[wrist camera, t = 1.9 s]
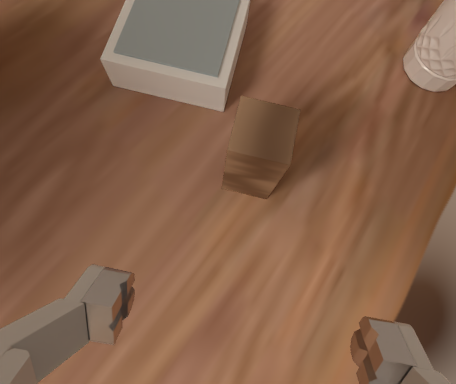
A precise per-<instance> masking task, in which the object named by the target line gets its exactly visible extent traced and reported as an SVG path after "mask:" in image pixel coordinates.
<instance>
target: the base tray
mask: <svg viewBox="0 0 456 384" xmlns="http://www.w3.org/2000/svg"><path fill="white" fill-rule="evenodd" d="M249 7H250V0H125V3H124V5H123V7H122V10H121V12H120V14H119V17H118V19H117V21H116V24H115V26H114V28H113V31H112V33H111V35H110V37H109V40H108V42H107V44H106V47H105V49H104V51H103V54H102V56H101V58H100V60H101V62H102V64H103V66H104V68H105V70H106V72H107V74H108V76H109V78H110V81H111V83H112V85H113V86H116V87H120V88H124V89H129V90H133V91H137V92H141V93H145V94H150V95H154V96H158V97H162V98H166V99H171V100H175V101H179V102H183V103H188V104H192V105H196V106H200V107H204V108H209V109H213V110H217V111H221V112H224V108H225V105H226V101H227V97H228V93H229V90H230V86H231V82H232V78H233V75H234V71H235V67H236V63H237V60H238V56H239V52H240V48H241V45H242V41H243V37H244V33H245V30H246V26H247V20H248V14H249Z"/></svg>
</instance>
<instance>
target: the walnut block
mask: <svg viewBox="0 0 456 384" xmlns="http://www.w3.org/2000/svg"><path fill="white" fill-rule="evenodd" d="M299 115H300V109H296V108H292V107H287V106H283V105H279V104H275V103H270V102H266V101H262V100H258V99H254V98H249V97H245V96H241V97H240V101H239V105H238V109H237V113H236V117H235V121H234V125H233V129H232V132H231V136H230V140H229V144H228V148H227V154H226V161H225V168H224V175H223V182H222V189H226V190H230V191H234V192H238V193H243V194H247V195H251V196H255V197H259V198H264V199H267V198H268V196H269V195H270V193H271V192H272V191H273V189H274V188H275V186H276V185H277V184H278V182H279V181H280V179H281V178H282V176H283V175H284V174H285V172H286V171H287V169H288V168H289V166H290V165H291V159H292V154H293V148H294V143H295V137H296V132H297V126H298V121H299Z"/></svg>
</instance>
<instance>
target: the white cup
mask: <svg viewBox="0 0 456 384" xmlns="http://www.w3.org/2000/svg"><path fill="white" fill-rule="evenodd" d="M403 64H404V70H405V72H406V73H407V75H408V77H409V78H410V80H411V81H413V82H414V83H415V84H416V85H418V86H419V87H420V88H423V89H426V90H429V91H432V92H439V91H447V90H449V89H450V88H452V87H453V86H455V85H456V0H444V1H443V2H442V3H441V5H440V6H439V7H438V9H437V10H436V11H435V13H434V14H433V15H432V17H431V18H430V19H429V21H428V22H427V23H426V25H425V26H424V27H423V29H422V30H421V31H420V33H419V35H418V37H417V38H416V39H415V40H414V42H413V43H412V44H411V45H410V47H409V48H408V50H407V52H406V53H405V55H404V57H403Z"/></svg>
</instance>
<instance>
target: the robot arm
mask: <svg viewBox="0 0 456 384" xmlns="http://www.w3.org/2000/svg"><path fill="white" fill-rule="evenodd" d="M134 281H135V278H134V273H132V272H127V271H123V270H118V269H114V268H109V267H103V266H98V265H94V264H92V265H90V266H89V267H88V268H87V269H86V270H85V272H84V273H83V274H82V276H81V277H80V278H79V280H78V281H77V282H76V284H75V285H74V286H73V287H72V289H71V290H70V291H69V293H68V294H67V295H66V297H65V298H64V299H61V298H59V299H57V300H55V301H53V302H51V303H49V304H47V305H45V306H44V307H42V308H40V309H38V310H36V311H34V312H32V313H30V314H28V315H26V316H24V317H22V318H20V319H18V320H16V321H14V322H13V323H11V324H9V325H7V326H5V327H3V328H1V329H0V384H37V383H38V382H39V381H40V380H42V379H43V378H44V377H45V376H47V375H48V374H49V373H50V372H52V371H53V370H54V369H56V368H57V367H58V366H59V365H61V364H62V363H63V362H64V361H66V360H67V359H68V358H70V357H71V356H72V355H73V354H75V353H76V352H77V351H78V350H80V349H81V348H82V347H83V346H85V345H86V344H87V343H89V341H94V342H100V343H106V344H112V345H114V344H115V342H116V340H117V338H118V336H119V334H120V331H121V329H122V320H123V319H125V318H126V317H128V315H129V313H130V311H131V308H132V305H133V302H134V295H135V290H134V288H133V287H132V285H133V283H134ZM359 325H360V329H359V330H357V331H355V332H354V334H353V336H352V338H351V345H350V347H351V355H352V359H353V361H354V362H355V363H356V364H357V366H358V367H359V369H358V371H357V373H356V374H357V377H358V381H359V384H452V383H451V382H450V381H449V380H447V379H446V378H445V377H444V376H443V375H442V374H441V373H440V372H438V371H434V369H433V367H432V365H431V363H430V361H429V359H428V357H427V355H426V353H425V351H424V349H423V347H422V345H421V343H420V341H419V339H418V338H417V335H416V333H415V331H414V330H413V328H412V327H411V326H410V325H409V324H404V323H399V322H392V321H388V320H382V319H377V318H371V317H366V316H364V317H363V318H362V319H361V320H360V322H359Z"/></svg>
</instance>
